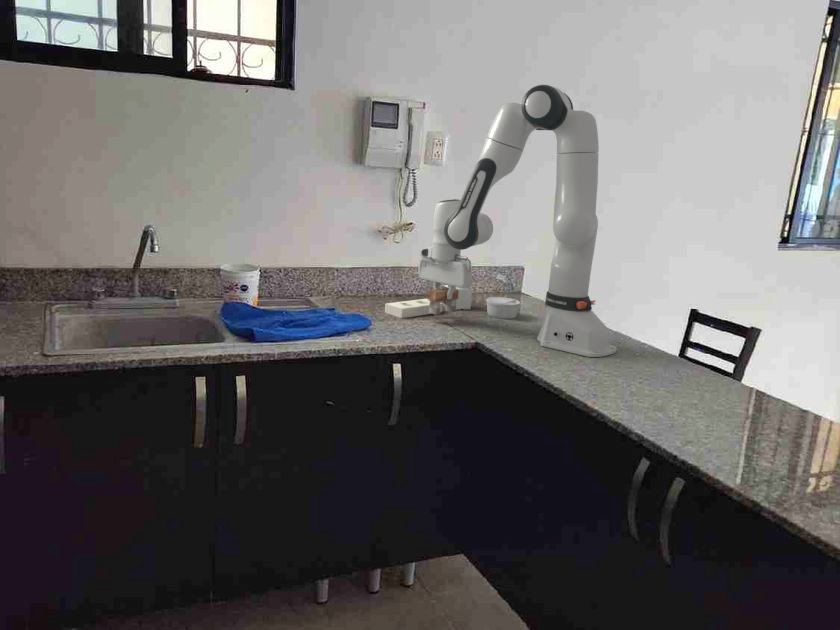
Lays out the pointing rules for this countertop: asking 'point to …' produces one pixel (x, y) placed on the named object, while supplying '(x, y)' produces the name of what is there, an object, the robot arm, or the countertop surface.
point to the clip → (438, 296)
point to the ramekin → (502, 307)
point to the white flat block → (409, 308)
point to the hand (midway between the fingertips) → (443, 297)
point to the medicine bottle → (462, 298)
